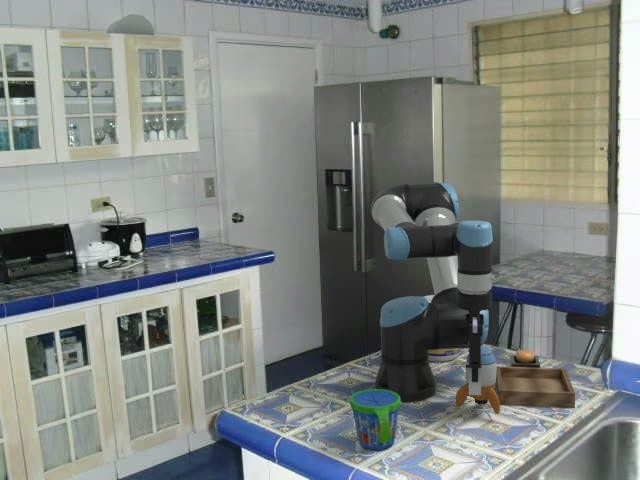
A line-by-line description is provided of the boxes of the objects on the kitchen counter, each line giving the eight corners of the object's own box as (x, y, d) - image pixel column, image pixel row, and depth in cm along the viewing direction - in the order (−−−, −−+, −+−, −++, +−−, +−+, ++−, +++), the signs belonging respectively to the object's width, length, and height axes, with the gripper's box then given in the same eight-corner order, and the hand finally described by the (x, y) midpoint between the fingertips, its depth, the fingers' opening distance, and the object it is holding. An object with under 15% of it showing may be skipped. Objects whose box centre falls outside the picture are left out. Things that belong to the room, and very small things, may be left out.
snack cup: (347, 429, 155) (346, 385, 153) (395, 426, 156) (394, 382, 154) (355, 462, 140) (353, 413, 138) (407, 459, 140) (406, 410, 139)
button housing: (511, 378, 182) (511, 363, 181) (510, 369, 189) (510, 355, 188) (540, 379, 180) (540, 364, 180) (537, 370, 187) (537, 355, 186)
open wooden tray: (498, 404, 165) (498, 390, 165) (496, 379, 182) (496, 366, 181) (574, 408, 162) (575, 393, 161) (565, 381, 178) (565, 368, 178)
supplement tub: (450, 365, 193) (450, 306, 191) (410, 359, 200) (409, 301, 197) (466, 352, 204) (465, 296, 201) (426, 347, 210) (426, 292, 207)
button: (516, 362, 182) (516, 354, 182) (515, 356, 187) (515, 349, 186) (534, 362, 181) (534, 355, 181) (533, 357, 186) (533, 349, 185)
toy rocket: (508, 418, 156) (499, 357, 152) (461, 426, 157) (450, 365, 153) (499, 395, 166) (489, 338, 162) (454, 403, 167) (443, 346, 163)
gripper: (493, 302, 146) (493, 406, 150) (490, 280, 165) (490, 373, 169) (456, 301, 148) (457, 404, 152) (458, 280, 167) (458, 372, 171)
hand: (474, 387), depth 160 cm, fingers closed on toy rocket, 7 cm apart
